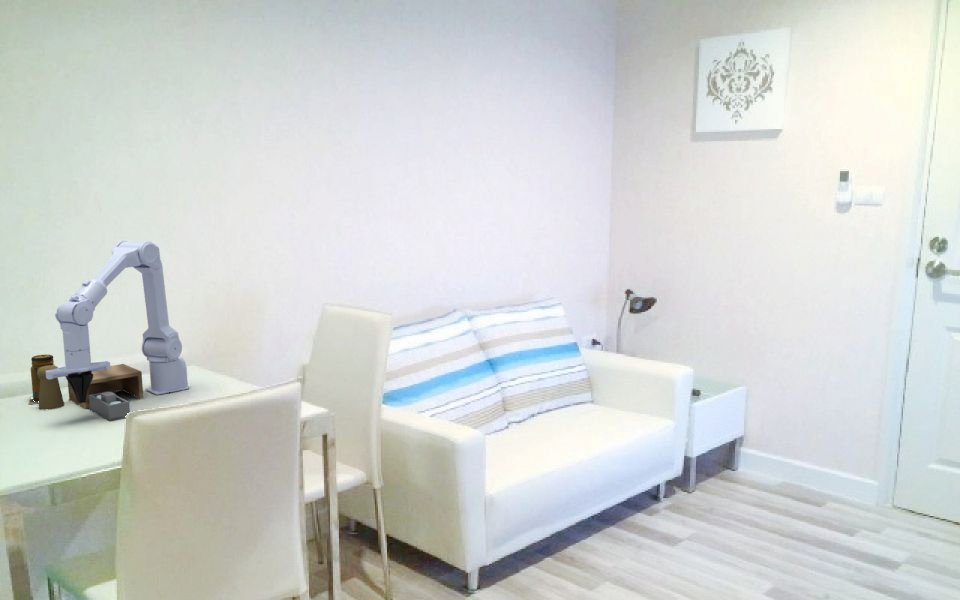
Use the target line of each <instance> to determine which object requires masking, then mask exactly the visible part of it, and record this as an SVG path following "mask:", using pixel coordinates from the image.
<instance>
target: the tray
mask: <svg viewBox="0 0 960 600" xmlns="http://www.w3.org/2000/svg"><path fill="white" fill-rule="evenodd" d="M89 404H90V409H89V410H90V411H91V410H92V411H91V412H93V413H94V412H95V413H94V414H96V415H98V416H100V417H102V418H103V419H105V420H107V421H109V422H115V421H117V420H122V419H123V420H124V419H126V418H125V416H126V415H127V413H129V412H130V413H131V408H130V401H129V400H126V399H124V398H122V396H121V397H120V396H118V395H117V394H116V393H115V392H113V393H112V392H103V393H98V394H92V395H89Z"/></svg>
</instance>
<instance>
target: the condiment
mask: <svg viewBox="0 0 960 600" xmlns="http://www.w3.org/2000/svg"><path fill="white" fill-rule="evenodd" d="M48 365H53V366H56V365H55V363H54V356H53V355H52V354H38V355H34V356H32V357H31V367H30V376H31V377H30V378H31V379H30V380H31V389H32V396H30V399H29V401H28V404H29V405H30V404H32V405H34V404H39V403H38V401H39V392H40V379H39V378H38V375H37V371H38V369H39V368H40V367H43V366H48ZM31 397H33V399H31ZM33 400H34V401H35V402H34V401H33Z"/></svg>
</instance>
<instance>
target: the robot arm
mask: <svg viewBox="0 0 960 600" xmlns="http://www.w3.org/2000/svg"><path fill="white" fill-rule="evenodd" d="M111 254H112V255H111V256H110V258H109V259H108V261H107V262H106V263H105V264H104V266H103V267H102V268H101V270H100V271H99V272H98V273H97V275H96V276H95V278H88V279H87V280H83V281H82V283H81V286H80V287H79V288H78V289H77V291H76V292H75V293H74V294H72V295H71V297H70V299H69V300H65V301H64V302H62V303H60V304H59V305H58V307H57V309H56V313H55V314H54V316H55V318H56V319H55V320H56V321H57V322H58V323H59V325H60V330H61V331H62V338H63V339H62V340H63V353H64V354H63V355H64V364H65V365H64V366H62V367H58V368H56V369H52V370H47V371H46V378H47V379H53V378H57V377H58V378H63V377H65V379H66V381H67V383H68V382H69V383H70V385H71V387H72V389H73V391H74V393H75V396H76V399H77V402H78V403H84V402H86V396H87V391H88V388H89V385H90V383H91V381H92V379H93V374H92V372H95V371H101V370H110V369H111V368H110V366H111V362H110V361H108V360H106V361H97V362H96V361H95V362H92V358H91V357H92V356H91V346H90V345H91V343H90V332H89V323H90V322H91V321H93V318H94V311H95V310H96V307H97V306H98V305H99V304H100V302H101V301H102V300H103V299H104V298H105V296H107V293H108V289H107V288H108V286H109V285H110V284H111V283H112V282H113V281H114V280H115V279H116V278H117V277H119V275H120V274H121V273H122V272H123V271H124V270H125V269H126V268H133V269H135V270H136V271H137V272H139V273H141V276H142V277H141V278H142V285H143V295H144V302H145V311H146V320H147V328H146V330H145V331H144V332H143V333H142V343H141V352H142V355H143V356H145V357H146V361H147V362H149V363H148V364H149V365H148V366H149V378H150V387H146V388H145V391H147V392H149V393H151V394H153V395H155V396H158V395H164V394H168V393H169V392H170V393H174V392H178V391H183V390H184V391H185V390H189V389H190V387H189V385H188V381H189V380H188V371H187V370H188V368H187V364H186V361H185V359H184V358H183V357H181V354H182V351H183V344H182V341H181V340H180V337H179V332H178V331H177V330H176V329H174V328H173V327H172V326H171V325H170V320H169V314H168V313H169V312H168V305H167V304H168V303H167V296H166V295H167V294H166V286H165V279H164V268H163V263H162V260H161V256H160V255H161V253H160V248H159V246H158V245H156V244H154V243H153V242H152V241H128V240H121V241H119V242H118V243H117V244H116V245H115V247H113V248H112V249H111Z"/></svg>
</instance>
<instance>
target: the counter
mask: <svg viewBox="0 0 960 600" xmlns="http://www.w3.org/2000/svg"><path fill="white" fill-rule="evenodd" d="M110 368H111V369H110V370H101V371H95V372H92V374H93V379H92V381H91V383H90V385H89V388H88V391H87V396H86V402H84V403H78V402H77V399H76V396H75V393H74V391H73V389H72V387H71V385H70V383H69V382H68V381H67V389H68V400H69V401H71V402H73V403H74V404H76V405H78V406H79V405H80V407H82V408H83V409H85V410H89V409H88V408H90V404H89V395H92V394H98V393H103V392H112V393H116V392H125V393H127V394H129V395H131V396H134V397H136V398H138V399H144V388H143V375H142V374H143V373H142V371H141V370H139V369H137V368H134V367H132V366H130V365H127V364H125V363H121V364H114V365H110Z"/></svg>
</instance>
